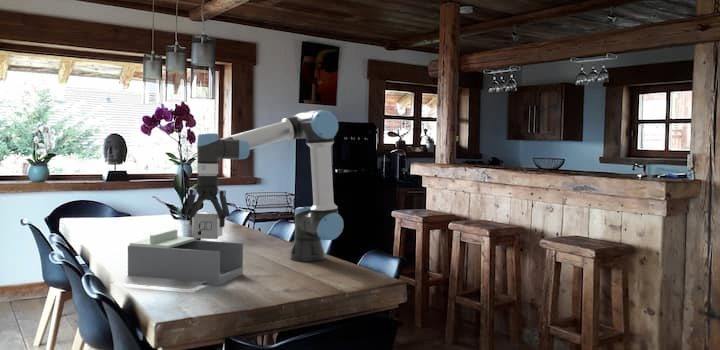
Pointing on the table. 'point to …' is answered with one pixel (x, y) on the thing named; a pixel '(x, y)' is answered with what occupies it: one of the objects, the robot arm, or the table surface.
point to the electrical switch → (205, 226)
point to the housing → (188, 261)
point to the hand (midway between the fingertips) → (207, 235)
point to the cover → (163, 240)
